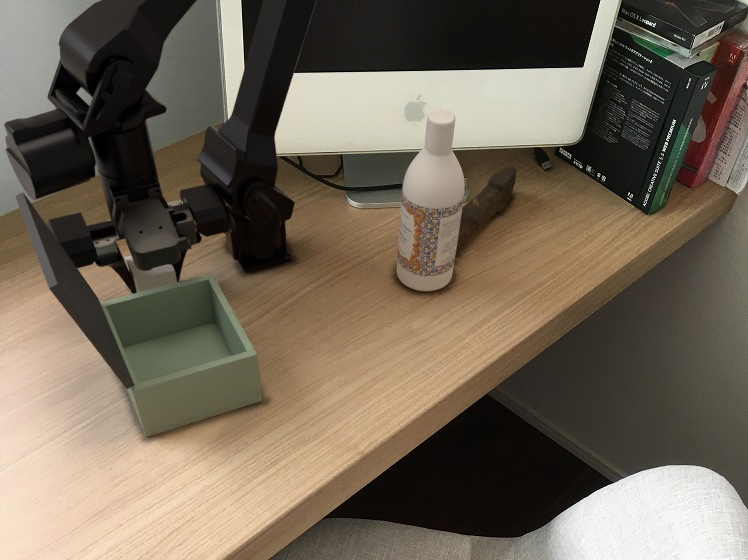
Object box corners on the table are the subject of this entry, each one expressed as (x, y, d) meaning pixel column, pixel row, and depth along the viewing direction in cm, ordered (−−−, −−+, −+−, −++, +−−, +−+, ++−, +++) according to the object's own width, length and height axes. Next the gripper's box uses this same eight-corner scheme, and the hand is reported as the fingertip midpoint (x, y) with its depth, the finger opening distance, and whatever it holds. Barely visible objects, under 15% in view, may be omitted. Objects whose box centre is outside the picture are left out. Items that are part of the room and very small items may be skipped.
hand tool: (450, 266, 98) (455, 235, 94) (424, 253, 99) (428, 221, 95) (528, 200, 107) (536, 168, 103) (504, 188, 108) (510, 157, 105)
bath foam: (387, 264, 98) (397, 104, 81) (437, 252, 99) (457, 94, 83) (409, 298, 94) (424, 138, 78) (461, 286, 96) (486, 127, 80)
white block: (169, 279, 94) (163, 247, 91) (181, 301, 92) (174, 270, 88) (132, 288, 93) (124, 256, 89) (143, 311, 91) (135, 280, 87)
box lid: (23, 191, 69) (14, 195, 69) (58, 283, 62) (48, 288, 62) (98, 297, 81) (91, 301, 81) (134, 385, 74) (127, 389, 74)
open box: (220, 321, 90) (212, 273, 85) (262, 401, 83) (257, 354, 78) (111, 351, 87) (95, 303, 81) (146, 437, 80) (132, 390, 74)
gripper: (49, 230, 72) (92, 354, 85) (241, 186, 77) (254, 310, 90) (24, 166, 78) (68, 292, 91) (205, 130, 83) (222, 253, 96)
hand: (155, 288), depth 92 cm, fingers closed on white block, 4 cm apart
